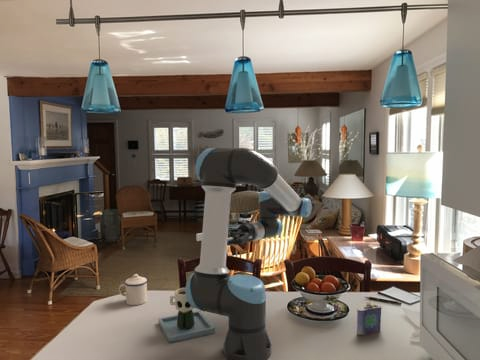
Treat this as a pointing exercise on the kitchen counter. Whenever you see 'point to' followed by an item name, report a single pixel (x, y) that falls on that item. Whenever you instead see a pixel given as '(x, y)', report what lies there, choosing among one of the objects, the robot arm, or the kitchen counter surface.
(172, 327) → the tray
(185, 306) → the character mug
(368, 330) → the flask
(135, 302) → the teacup with lid
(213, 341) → the kitchen counter surface
